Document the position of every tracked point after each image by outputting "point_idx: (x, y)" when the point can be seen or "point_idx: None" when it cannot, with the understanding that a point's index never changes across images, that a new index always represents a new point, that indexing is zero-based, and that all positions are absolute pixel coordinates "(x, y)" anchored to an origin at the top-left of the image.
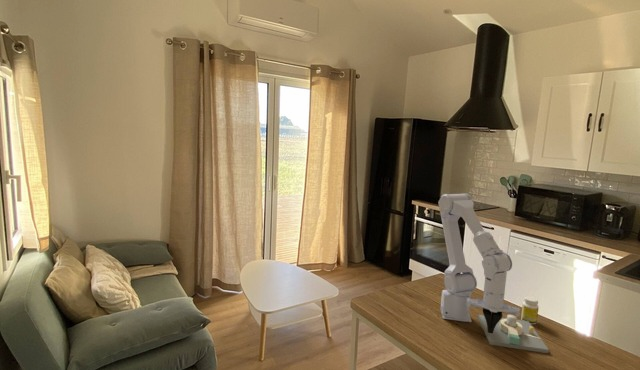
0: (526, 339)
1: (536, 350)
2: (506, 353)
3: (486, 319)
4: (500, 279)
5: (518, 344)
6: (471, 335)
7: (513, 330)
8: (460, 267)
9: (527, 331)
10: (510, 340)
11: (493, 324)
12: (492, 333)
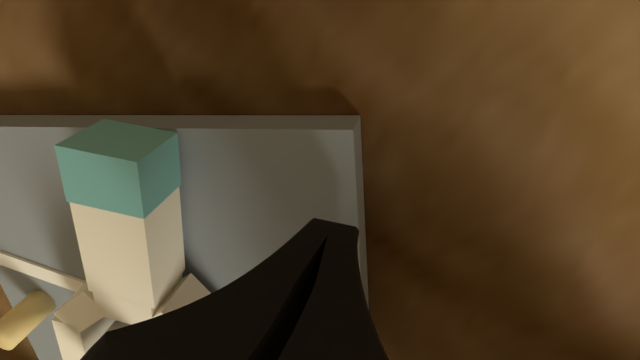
0: (62, 225)
1: (9, 119)
2: (228, 4)
3: (370, 344)
4: None
5: (103, 122)
6: (512, 228)
7: (112, 276)
8: None
9: None
10: (154, 142)
11: (277, 281)
12: (313, 218)
